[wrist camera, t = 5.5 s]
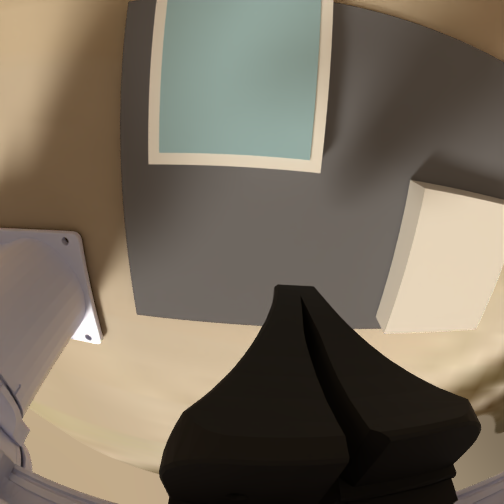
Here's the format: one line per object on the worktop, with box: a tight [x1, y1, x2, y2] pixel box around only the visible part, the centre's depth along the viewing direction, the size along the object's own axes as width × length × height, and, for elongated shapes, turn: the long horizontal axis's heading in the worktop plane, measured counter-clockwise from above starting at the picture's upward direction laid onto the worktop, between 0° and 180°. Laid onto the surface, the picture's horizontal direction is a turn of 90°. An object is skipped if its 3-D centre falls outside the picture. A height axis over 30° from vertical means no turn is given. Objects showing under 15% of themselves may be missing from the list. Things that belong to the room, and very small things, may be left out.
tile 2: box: [376, 180, 504, 334], centre depth 15 cm, size 2×8×7 cm
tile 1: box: [148, 0, 333, 173], centre depth 11 cm, size 7×8×2 cm
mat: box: [120, 0, 504, 329], centre depth 14 cm, size 22×17×1 cm
